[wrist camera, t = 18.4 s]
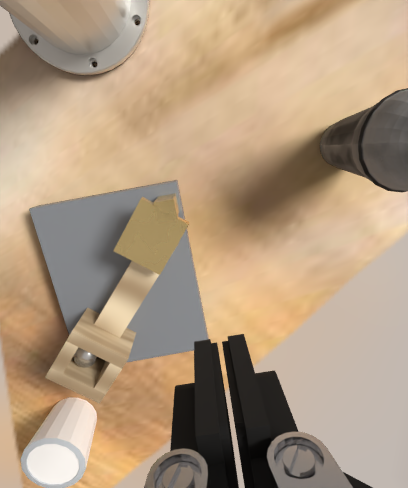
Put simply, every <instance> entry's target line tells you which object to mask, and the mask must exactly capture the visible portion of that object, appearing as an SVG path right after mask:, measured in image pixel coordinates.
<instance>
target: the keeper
mask: <svg viewBox="0 0 408 488" xmlns="http://www.w3.org/2000/svg"><path fill="white" fill-rule="evenodd" d="M178 214H179V207H178V202H177V197H176V193H174V194H169V195H163V196H158V197H157V199H156V200H155V201H154V203H153V202H151V201H150V200H148V199H146V198H144V197H142V198H141V199H140V201H139V203H138V205H137V207H136V209H135V211H134V213H133V214H132V216H131V218H130V220H129V222H128V224H127V226H126V228H125V230H124V232H123V233H122V235H121V237H120V239H119V241H118V243H117V245H116V247H115V249H114V252H116V253H118V254H120V255H122V256H124V257H126V258H128V259H130V260H132V261H134V262H136V263H137V264H139V265H141V266H143V267H145V268H147V269H149V270H151V271H153V272H155V273H157V274H159V275H160V274H161V272H162V271H163V269H164V267H165V265H166V264H167V262H168V260H169V258H170V257H171V255H172V253H173V251H174V250H175V248H176V246H177V244H178V243H179V241H180V239H181V237H182V236H183V234H184V232H185V230H186V229H187V227H188V225H189V222H188V221H186V220H184V219H182V218H180V217H179V216H178Z"/></svg>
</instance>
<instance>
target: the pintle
mask: <svg viewBox="0 0 408 488" xmlns="http://www.w3.org/2000/svg"><path fill="white" fill-rule="evenodd" d="M96 358H97V356H95V355H93V354H91V353H89V352H87V351H85V350H83V349H81V348H79V347H78V349H77V351H76V352H75V354H74V361H75V363H76V364H77V365H78V366H80V367H84V368H86V367H90V366H92V365H93V364H94V363H95V361H96Z"/></svg>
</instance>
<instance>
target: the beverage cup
mask: <svg viewBox="0 0 408 488" xmlns="http://www.w3.org/2000/svg"><path fill="white" fill-rule="evenodd" d="M320 152H321V154H322V157H323V159H324V160H325V161H326V162H327V163H329V164H331V165H333V166H335V167H337V168H339V169H342V170H345V171H348V172H351V173H354V174H357V175H360V176H363V177H366V178H367V179H369V180H370V181H372V182H373V183H374V184H375V185H377V186H379V187H381V188H383V189H385V190H387V191H395V192H406V191H408V88H407V89H402V90H397V91H395V92H394V93H392V94H390V95H388V96H387V97H385V98H383V99H382V100H381V101H380V102H379V103H377V104H375V105H374V106H373V107H371V108H368V109H366V110H364V111H361V112H359V113H356V114H354V115H352V116H349V117H347V118H345V119H342V120H340V121H339V122H337V123H335V124H333V125H331V126H330V127H329V128H328V129H327V130H326V131H325V132H324V134H323V136H322V138H321V142H320Z"/></svg>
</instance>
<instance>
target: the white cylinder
mask: <svg viewBox="0 0 408 488" xmlns="http://www.w3.org/2000/svg"><path fill="white" fill-rule="evenodd" d="M96 421H97V414H96V411H95V409H94V407H93V406H92V405H91V404H90V403H88V402H87V401H86V400H83V399H80V398H66V399H63V400H61V401H59V402H58V403H57V404H56V405H55V406H54V407H53V409H52V410H51V412H50V413H49V415H48V416H47V417H46V419H45V420H44V422H43V423H42V425H41V426H40V428H39V429H38V431H37V432H36V433H35V435H34V436H33V438H32V439H31V441H30V442H29V444H28V445H27V447H26V448H25V449H24V452H23V454H22V457H21V466H22V470H23V472H24V473H25V474H26V476H27V477H28V479H30V480H31V481H33V482H34V483H36V484H37V485H39V486H43V487H46V488H65V487H68V486H71V485H74V484H75V483H76V482H77V481H78V480H80V479H81V478H82V476H83V474H84V472H85V469H86V465H87V461H88V457H89V452H90V448H91V443H92V439H93V435H94V430H95V426H96Z"/></svg>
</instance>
